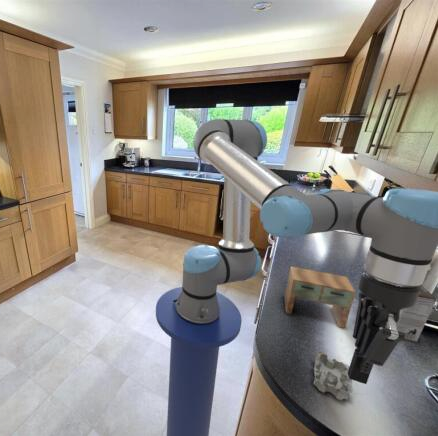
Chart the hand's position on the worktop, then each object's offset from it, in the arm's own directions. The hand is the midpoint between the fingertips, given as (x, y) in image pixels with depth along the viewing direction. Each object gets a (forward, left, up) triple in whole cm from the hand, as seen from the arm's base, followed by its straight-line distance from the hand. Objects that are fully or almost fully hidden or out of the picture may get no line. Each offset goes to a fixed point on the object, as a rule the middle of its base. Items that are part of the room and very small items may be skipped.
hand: (356, 378), depth 50 cm
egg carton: (-4, +10, -12) cm, 16 cm away
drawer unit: (-14, +37, -12) cm, 41 cm away
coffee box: (+8, +47, -12) cm, 49 cm away
